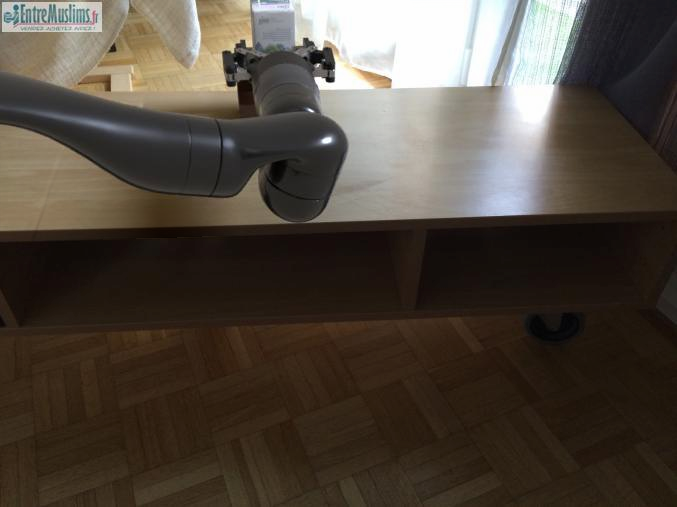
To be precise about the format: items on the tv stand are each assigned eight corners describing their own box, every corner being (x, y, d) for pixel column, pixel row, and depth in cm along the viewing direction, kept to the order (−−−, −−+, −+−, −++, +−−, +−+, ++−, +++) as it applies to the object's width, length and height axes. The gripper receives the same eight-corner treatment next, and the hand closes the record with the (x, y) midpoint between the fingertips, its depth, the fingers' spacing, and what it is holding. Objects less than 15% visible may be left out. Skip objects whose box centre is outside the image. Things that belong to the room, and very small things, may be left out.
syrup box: (292, 92, 94) (290, -6, 85) (296, 109, 90) (295, 8, 81) (255, 94, 94) (249, -5, 84) (257, 111, 89) (251, 9, 80)
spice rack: (241, 139, 90) (236, 74, 83) (238, 109, 97) (233, 47, 91) (315, 135, 91) (316, 71, 85) (307, 106, 99) (307, 45, 92)
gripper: (227, 127, 73) (224, 73, 85) (345, 121, 75) (325, 69, 87) (221, 66, 68) (219, 18, 80) (347, 62, 70) (326, 16, 83)
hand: (274, 45), depth 84 cm, fingers open, 8 cm apart
